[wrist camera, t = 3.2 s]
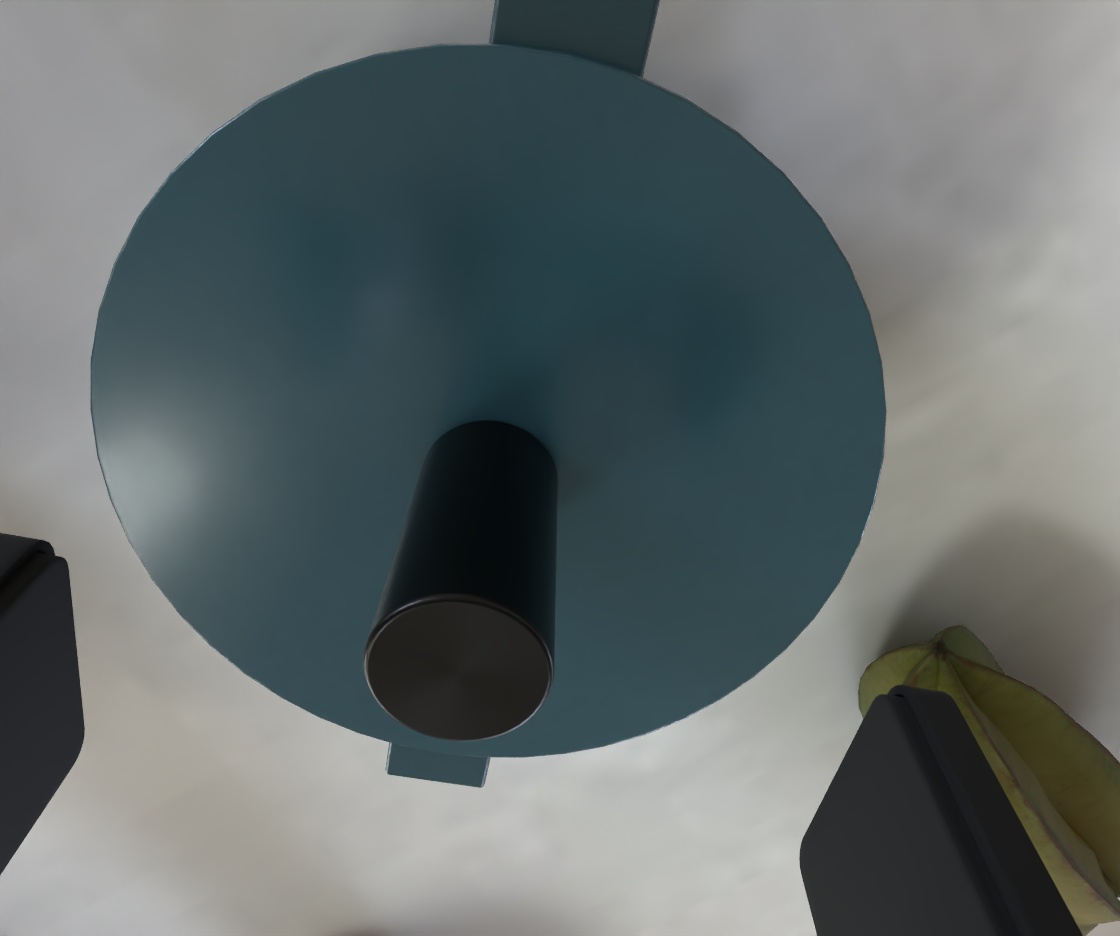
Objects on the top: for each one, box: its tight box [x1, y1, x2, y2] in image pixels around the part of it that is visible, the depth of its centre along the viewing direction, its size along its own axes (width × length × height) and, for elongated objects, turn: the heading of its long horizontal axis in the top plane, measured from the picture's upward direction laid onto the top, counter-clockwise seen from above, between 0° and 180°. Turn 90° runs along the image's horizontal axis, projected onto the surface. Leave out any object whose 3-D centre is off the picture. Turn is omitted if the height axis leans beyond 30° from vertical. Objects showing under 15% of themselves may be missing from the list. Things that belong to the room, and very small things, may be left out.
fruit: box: [858, 625, 1120, 936], centre depth 27 cm, size 11×12×7 cm
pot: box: [386, 0, 660, 787], centre depth 19 cm, size 13×18×8 cm
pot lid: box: [91, 44, 886, 757], centre depth 13 cm, size 14×14×6 cm
